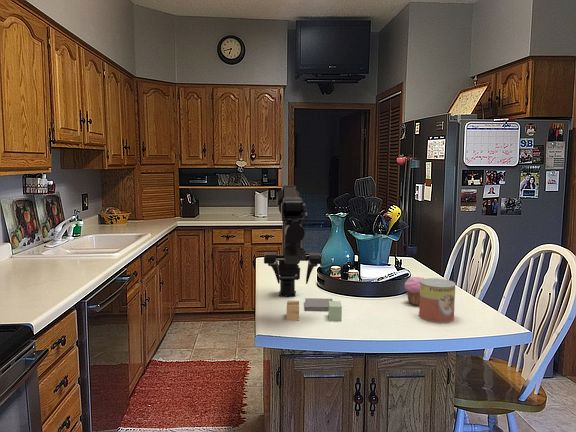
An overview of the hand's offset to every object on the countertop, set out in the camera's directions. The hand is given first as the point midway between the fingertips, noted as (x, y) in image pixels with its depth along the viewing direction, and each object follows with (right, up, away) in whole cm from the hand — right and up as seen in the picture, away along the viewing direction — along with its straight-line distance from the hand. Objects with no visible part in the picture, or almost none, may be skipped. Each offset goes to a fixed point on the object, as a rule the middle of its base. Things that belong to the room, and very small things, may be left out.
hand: (292, 283), depth 154 cm
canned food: (+48, -12, +1) cm, 50 cm away
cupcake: (+46, -10, +16) cm, 50 cm away
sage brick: (+14, -12, +1) cm, 18 cm away
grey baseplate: (+10, -10, +13) cm, 19 cm away
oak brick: (0, -12, +1) cm, 12 cm away
